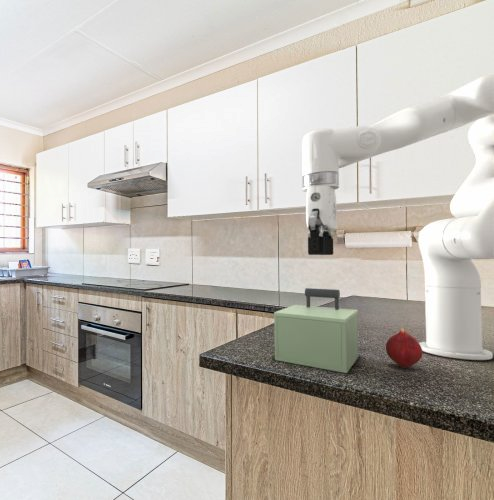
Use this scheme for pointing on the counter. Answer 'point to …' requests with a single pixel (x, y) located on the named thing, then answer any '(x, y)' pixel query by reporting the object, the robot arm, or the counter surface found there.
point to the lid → (319, 308)
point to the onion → (404, 349)
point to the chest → (317, 342)
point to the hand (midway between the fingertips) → (321, 254)
